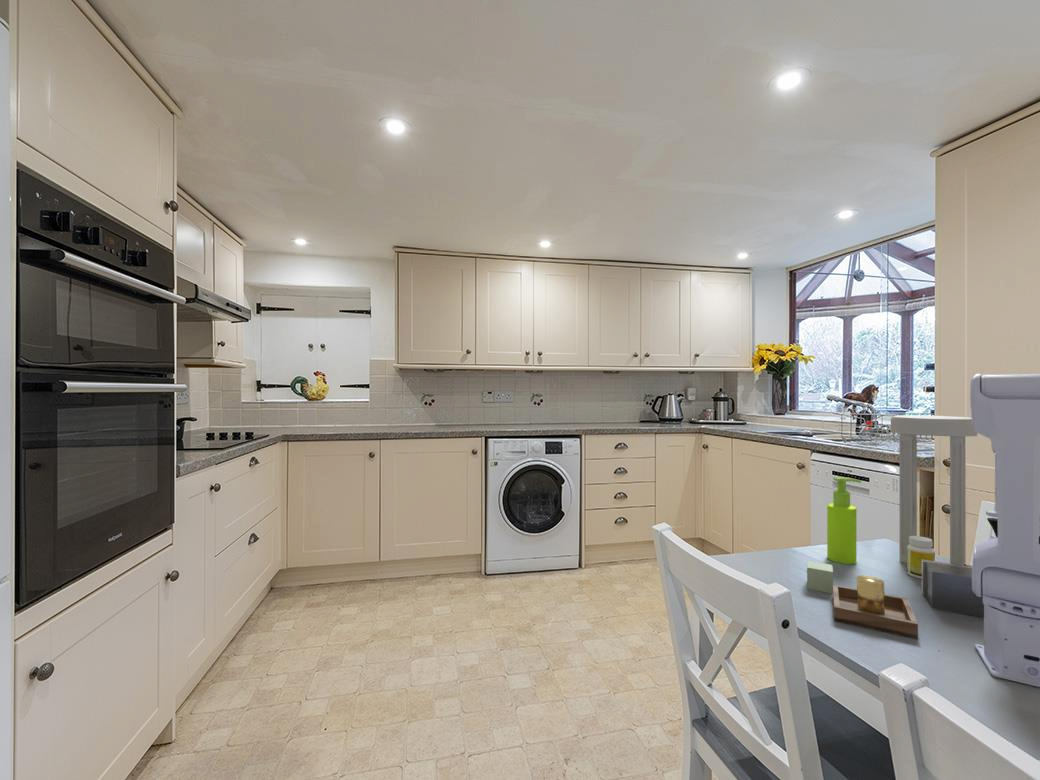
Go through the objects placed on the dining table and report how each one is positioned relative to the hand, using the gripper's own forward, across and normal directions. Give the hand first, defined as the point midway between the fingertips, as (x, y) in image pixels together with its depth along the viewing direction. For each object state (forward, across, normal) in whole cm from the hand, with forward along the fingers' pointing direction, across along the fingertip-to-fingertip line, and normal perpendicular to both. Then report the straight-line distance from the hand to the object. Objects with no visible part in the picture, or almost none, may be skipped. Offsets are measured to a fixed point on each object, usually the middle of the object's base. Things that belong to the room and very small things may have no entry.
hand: (1017, 565), depth 84 cm
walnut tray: (+10, +12, -22) cm, 27 cm away
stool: (+10, -30, -7) cm, 32 cm away
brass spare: (+9, +12, -22) cm, 27 cm away
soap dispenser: (+10, -20, -25) cm, 34 cm away
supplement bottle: (+10, -17, -11) cm, 23 cm away
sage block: (+10, +2, -30) cm, 32 cm away
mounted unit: (+10, -1, -8) cm, 13 cm away
